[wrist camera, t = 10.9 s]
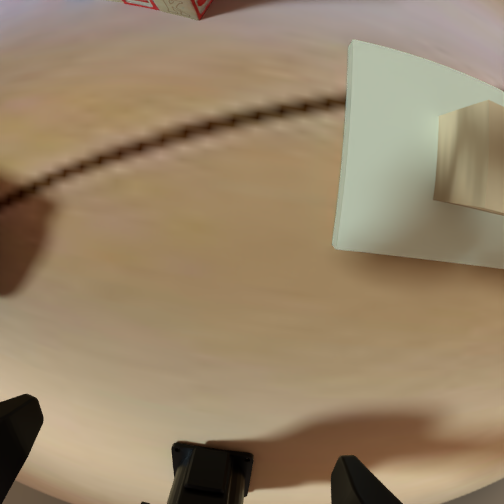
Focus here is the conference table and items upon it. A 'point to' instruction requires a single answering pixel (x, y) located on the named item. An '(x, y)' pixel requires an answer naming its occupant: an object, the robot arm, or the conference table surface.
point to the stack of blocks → (174, 6)
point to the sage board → (406, 162)
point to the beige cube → (472, 158)
